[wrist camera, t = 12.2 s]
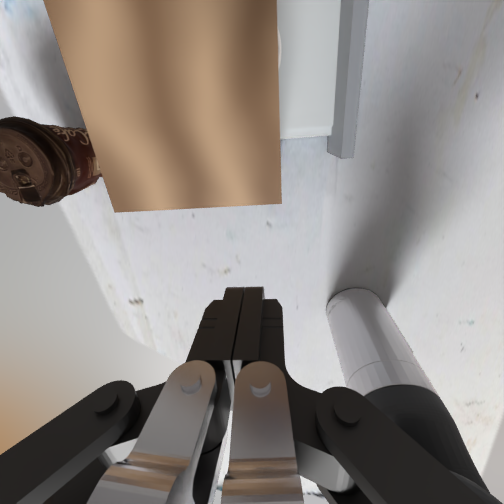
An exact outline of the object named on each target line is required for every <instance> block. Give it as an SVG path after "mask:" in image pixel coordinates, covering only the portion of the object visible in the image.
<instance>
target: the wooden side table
mask: <svg viewBox="0 0 504 504" xmlns="http://www.w3.org/2000/svg"><path fill="white" fill-rule="evenodd" d="M43 1H44V4H45V7H46V10H47V13H48V16H49V19H50V21H51V24H52V27H53V30H54V33H55V36H56V39H57V42H58V45H59V48H60V51H61V54H62V57H63V60H64V63H65V66H66V69H67V72H68V75H69V78H70V81H71V84H72V87H73V90H74V93H75V96H76V99H77V102H78V105H79V108H80V111H81V114H82V117H83V120H84V123H85V126H86V129H87V131H88V134H89V137H90V140H91V143H92V146H93V149H94V152H95V155H96V158H97V161H98V164H99V167H100V170H101V173H102V176H103V179H104V182H105V185H106V188H107V191H108V194H109V197H110V200H111V203H112V206H113V209H114V212H115V213H116V212H135V211H153V210H172V209H191V208H210V207H229V206H247V205H266V204H282V197H281V155H280V113H279V71H278V29H277V0H43Z"/></svg>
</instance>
